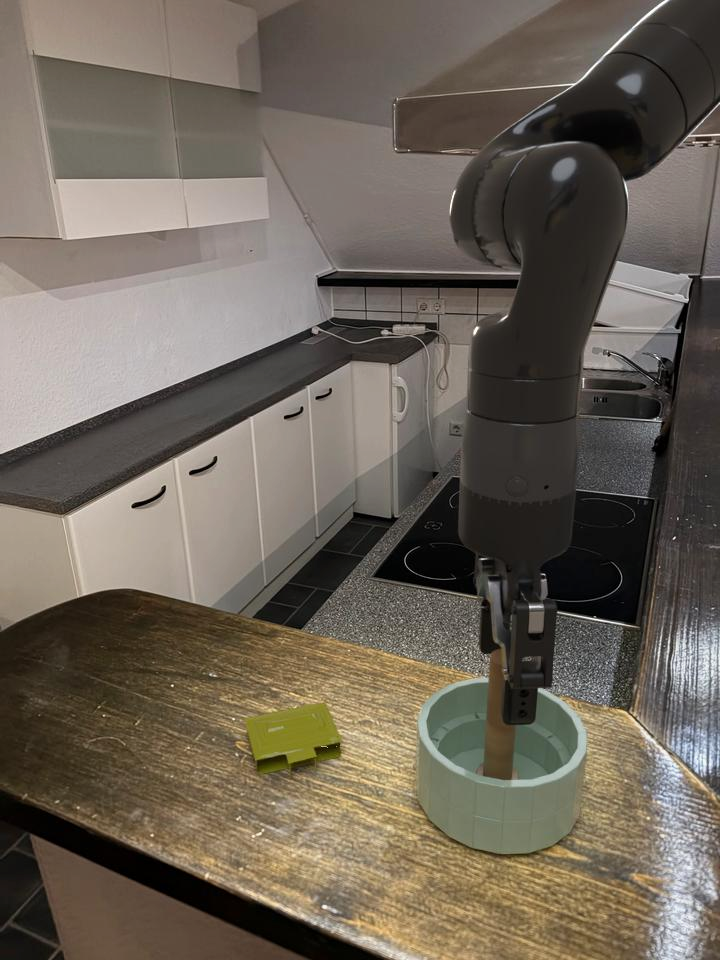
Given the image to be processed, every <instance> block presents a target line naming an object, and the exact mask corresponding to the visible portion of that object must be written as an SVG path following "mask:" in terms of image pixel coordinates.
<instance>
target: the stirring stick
mask: <svg viewBox="0 0 720 960" xmlns="http://www.w3.org/2000/svg"><path fill="white" fill-rule="evenodd" d="M502 667H503V664H502V652H501V649H497V650H495V651H493V652H492V653H491V654H489V667H488V678H489V680H488V697H487V713H486V730H485V747H484V762H483V763H482V764H480V765H479V767H478V768H477V771H476V774H478V775H480V776H485V777H490V778H496V779H501V780H519V776H518V772H517V771H516V769H515V768H514V767H513V758H514V745H515V732H516V725H506V724H505V723H504V722H503V719H502V716H501V703H502V687H503V675H502Z"/></svg>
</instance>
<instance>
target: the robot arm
mask: <svg viewBox="0 0 720 960" xmlns="http://www.w3.org/2000/svg"><path fill="white" fill-rule="evenodd" d="M719 105H720V0H664V1H662V2H660V3H659V4H658V5H656V6H655V7H654V8H653V9H652V10H650V11H649V12H648V13H647V14H645V15H644V16H643V17H642V18H641V19H640V20H639V21H637V23H636V24H634V25H633V26H632V28H630V29H629V30H628V31H627V32H626V33H625V34H623V36H622V37H620V38H619V40H618V41H617V42H615V44H613V46H612V47H610V48H609V50H608V51H606V52H605V54H603V56H601V57H600V58H599V59H598V60H597V61H596V63H595V64H594V65H593V66H592V67H590V68H589V70H588V71H587V72H586V73H585V75H583V77H582V78H580V79H579V80H578V81H577V82H575V83H574V84H573V85H572V86H570V87H568V88H566V90H564V91H563V92H560V93H559V94H557V95H555V96H554V97H552V98H551V99H549V100H547V101H546V102H544V103H543V104H541V105H539V106H538V107H537V108H535V109H534V110H532V111H531V112H528V114H526V115H525V116H523V117H522V118H520V119H519V120H518V121H516V122H515V123H513V124H511V125H510V126H509V127H507V128H506V129H505V130H503V131H502V132H500V133H499V134H497V136H495V137H494V138H493V139H491V140H490V141H489V142H487V143H486V144H485V145H484V146H483V147H482V148H481V149H480V150H479V151H478V152H477V153H476V154H475V155H474V156H473V157H472V158H471V160H470V161H469V162H468V163H467V165H466V166H465V168H464V170H462V171H461V174H460V176H459V178H458V179H457V181H456V184H455V186H454V188H453V192H452V193H451V197H450V198H451V199H450V202H449V209H448V221H449V222H448V223H449V229H450V233H451V237H452V239H453V241H454V243H455V245H456V246H457V248H458V249H459V251H461V253H462V254H463V255H464V256H465V257H467V258H468V259H469V260H471V261H473V262H474V263H476V264H478V265H480V266H483V267H486V268H491V269H496V270H506V271H516V272H520V273H519V278H518V283H517V286H516V289H515V292H514V295H513V298H512V300H511V303H510V306H509V308H508V310H503V311H498V312H497V311H496V312H493V313H490V314H487V315H486V316H484V317H482V318H481V319H479V320H478V321H477V322H476V323H475V325H474V326H473V328H472V330H471V333H470V338H469V344H468V345H469V346H468V356H467V357H468V358H467V379H466V404H465V405H466V408H465V416H464V417H465V418H464V423H463V429H462V434H461V442H460V443H461V444H460V462H459V465H460V466H459V489H458V490H459V493H458V494H459V495H458V520H457V521H458V523H457V533H458V538H459V540H460V541H461V543H462V544H463V545H464V547H466V548H467V549H468V550H469V551H472V552H473V553H474V554H475V557H474V559H475V560H474V574H473V575H474V577H472V583H473V584H474V588H475V589H476V591H477V593H476V594H477V595H476V602H477V604H478V607H479V608H480V613H479V629H478V631H479V632H478V646H479V650H480V652H481V653H482V654H484V655H490V654H491V653H492V652H493V651H495V650H497V649H501V652H502V664H503V667H502V675H503V687H502V703H501V716H502V719H503V722H504V723H505V724H506V725H530V724H532V723H533V722H534V721H535V719H536V707H537V695H538V688H542V689H551V688H552V685H553V681H554V676H553V674H554V661H555V660H554V658H555V645H556V629H557V615H558V612H559V611H558V609H559V608H558V605H557V603H556V600H555V599H553V598H551V599H549V598H547V596H548V593H549V590H548V582H547V576H546V574H545V573H543V572H542V570H541V567H542V566H543V565H544V564H545V563H547V562H548V561H550V560H552V559H554V558H557V557H559V556H560V555H563V554H564V553H565V552H566V551H568V549H569V548H570V546H571V544H572V539H573V528H574V518H575V506H576V495H577V487H578V486H577V484H578V475H579V474H578V473H579V465H580V464H579V463H580V453H581V450H580V449H581V438H580V437H581V434H580V405H581V395H582V383H583V375H584V374H583V372H584V362H585V361H584V360H585V350H586V346H587V344H588V341H589V338H590V335H591V332H592V329H593V327H594V325H595V323H596V320H597V317H598V315H599V312H600V309H601V306H602V302H603V300H604V297H605V294H606V293H607V289H608V286H609V284H610V281H611V278H612V277H613V273H614V270H615V268H616V265H617V262H618V259H619V257H620V254H621V251H622V247H623V244H624V242H625V237H626V232H627V228H628V220H629V195H628V189H627V184H626V182H630V181H634V180H637V179H639V178H642V177H644V176H646V175H647V174H648V175H649V173H651V172H652V171H654V170H655V169H656V168H658V167H660V165H661V164H663V163H664V162H665V161H666V160H667V159H668V158H669V157H670V156H671V155H672V154H673V153H674V152H675V151H676V150H677V149H678V148H679V147H680V146H681V145H682V144H683V143H684V141H685V140H686V139H688V138H689V137H690V135H691V134H692V133H693V132H694V131H696V129H697V128H698V127H700V125H701V124H702V123H704V121H705V120H706V119H707V118H708V117H709V116H710V114H712V112H713V111H714V110H715V109H716V108H717V107H718V106H719ZM546 598H547V599H546ZM528 657H529V658H530V659H531V660H524V658H528Z"/></svg>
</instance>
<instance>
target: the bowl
mask: <svg viewBox="0 0 720 960" xmlns="http://www.w3.org/2000/svg"><path fill="white" fill-rule="evenodd" d="M488 680H489V677H473V678H469V679H464V680H460V681H455V682H452V683H450V684H448V685H446V686H444V687H442V688H440V689H438V690H436V691H434V692H433V693H432V694H431V695H430V696H429V697H428V699H427V700H426V701H425V702H424V703H423V704H422V705H421V708H420V711H419V714H418V717H417V719H416V747H415V749H416V751H415V752H416V753H415V754H416V755H415V787H416V794H417V800H418V803H419V805H420V806H421V808H422V809H423V811H424V813H425V815H426V816H427V818H428V820H429V821H430V822H432V824H434V825H435V826H436V827H437V828H438V829H439V830H441V832H443V833H444V834H445V835H446V836H447V837H449V838H451V839H453V840H455V841H457V842H459V843H461V844H463V845H465V846H467V847H469V848H471V849H474V850H475V849H476V850H480V851H485V852H490V853H494V854H498V855H499V854H500V855H518V854H519V855H521V854H531V853H535V852H538V851H540V850H543V849H547V848H550V847H552V846H554V845H555V844H557V843H558V842H560V841H561V840H562V839H563V838H565V837H566V836H567V835H569V834H570V833H571V831H572V830H573V828H574V826H575V824H576V823H577V821H578V818H579V816H580V814H581V806H582V798H583V789H584V781H585V773H586V764H587V754H588V732H587V730H586V728H585V725H584V723H583V722H582V719H581V717H580V715H579V714H578V713H577V712H576V711H575V710H574V709H573V708H572V707H571V706H570V705H569V704H568V703H567V702H566V701H565V700H563V699H561V698H560V697H558V696H556V695H555V694H553V693H552V692H550V691H548V690H547V689H545V688H538V695H537V707H536V719H535V721H534V722H533V723H532V724H530V725H516V732H515V745H514V758H513V767H514V768H515V769H516V771H517V772H518V776H519V780H501V779H496V778H490V777H485V776H480V775H478V774H476V771H477V768H478V767H479V765H480V764H482V763H483V762H484V747H485V730H486V713H487V697H488Z"/></svg>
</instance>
